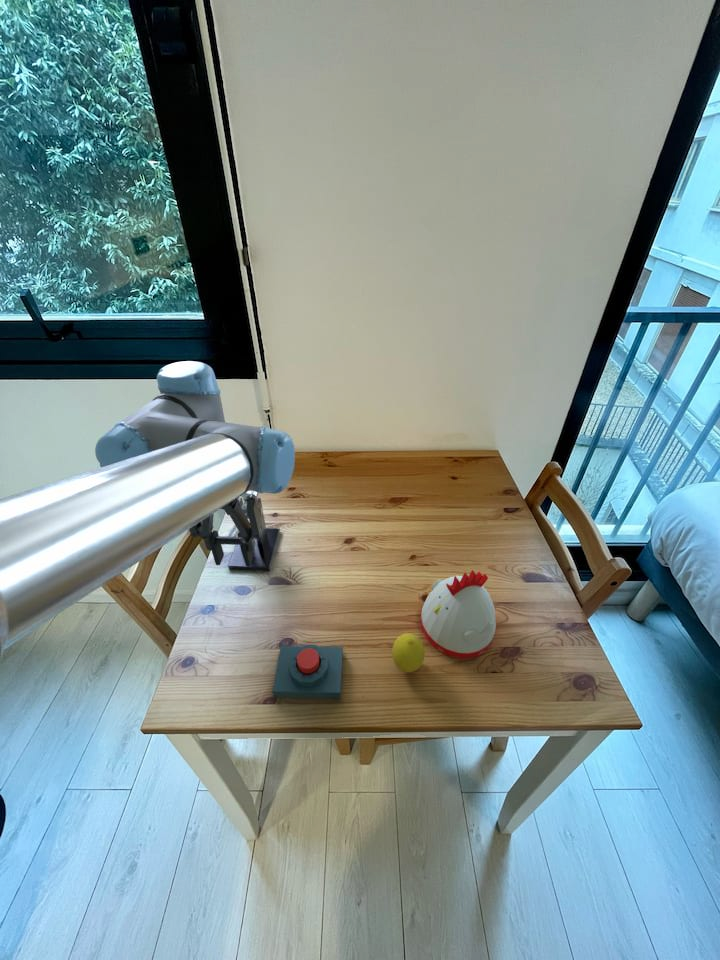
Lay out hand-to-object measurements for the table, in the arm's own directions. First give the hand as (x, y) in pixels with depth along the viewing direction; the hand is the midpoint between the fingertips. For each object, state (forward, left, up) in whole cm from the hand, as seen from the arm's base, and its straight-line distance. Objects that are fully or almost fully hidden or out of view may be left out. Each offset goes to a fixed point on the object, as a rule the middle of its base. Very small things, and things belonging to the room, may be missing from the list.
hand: (234, 559), depth 79 cm
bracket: (+9, +7, -10) cm, 15 cm away
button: (-4, -23, -6) cm, 24 cm away
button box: (-4, -23, -10) cm, 25 cm away
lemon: (+8, -35, -10) cm, 37 cm away
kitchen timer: (+21, -38, -10) cm, 45 cm away
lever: (+5, +3, +3) cm, 6 cm away
